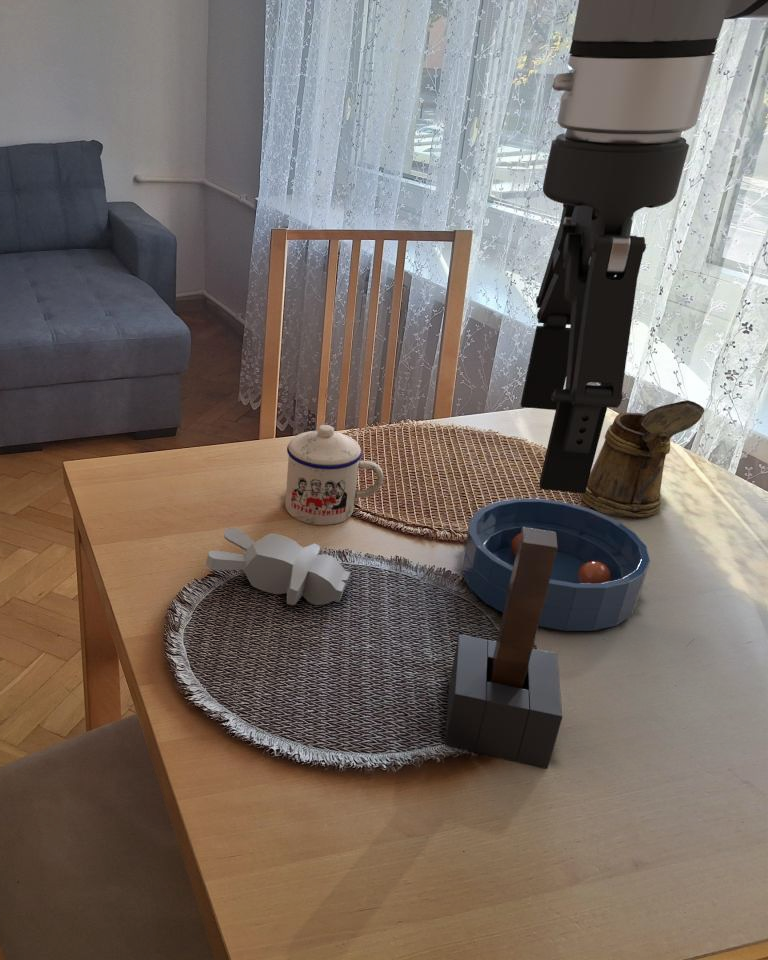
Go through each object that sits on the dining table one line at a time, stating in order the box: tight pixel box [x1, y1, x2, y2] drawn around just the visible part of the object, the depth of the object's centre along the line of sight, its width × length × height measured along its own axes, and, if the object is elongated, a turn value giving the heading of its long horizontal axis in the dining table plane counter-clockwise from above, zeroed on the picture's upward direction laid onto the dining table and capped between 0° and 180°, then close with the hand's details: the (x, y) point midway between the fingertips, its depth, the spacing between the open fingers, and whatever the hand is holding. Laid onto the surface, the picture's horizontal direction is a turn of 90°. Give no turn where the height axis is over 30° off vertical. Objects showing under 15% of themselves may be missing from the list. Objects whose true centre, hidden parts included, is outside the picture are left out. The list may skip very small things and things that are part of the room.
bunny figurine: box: [205, 527, 351, 606], centre depth 96 cm, size 10×5×15 cm
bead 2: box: [578, 561, 611, 583], centre depth 93 cm, size 3×3×3 cm
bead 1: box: [511, 533, 521, 556], centre depth 98 cm, size 3×3×3 cm
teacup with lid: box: [284, 424, 384, 526], centre depth 108 cm, size 12×9×12 cm
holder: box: [444, 634, 564, 769], centre depth 76 cm, size 8×8×6 cm
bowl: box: [461, 497, 651, 632], centre depth 94 cm, size 18×18×6 cm
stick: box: [488, 527, 558, 689], centre depth 72 cm, size 2×2×20 cm
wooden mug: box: [578, 399, 706, 519], centre depth 104 cm, size 9×14×18 cm, turn 172°
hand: (549, 444), depth 63 cm, fingers open, 13 cm apart
